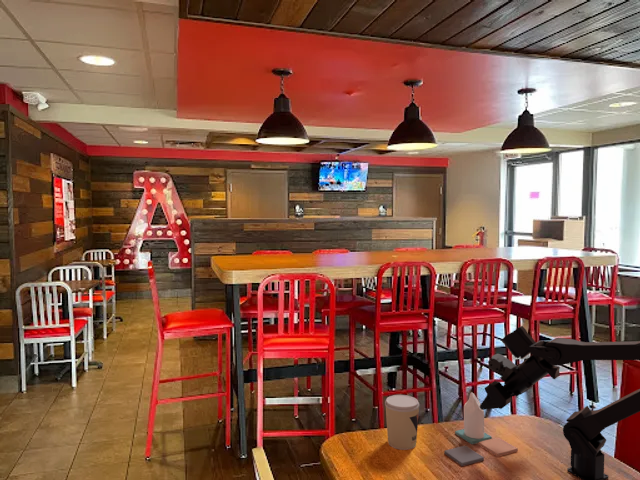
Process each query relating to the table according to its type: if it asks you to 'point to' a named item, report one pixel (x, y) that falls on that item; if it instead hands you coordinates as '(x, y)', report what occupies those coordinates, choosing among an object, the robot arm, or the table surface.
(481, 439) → the teal tile
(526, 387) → the robot arm
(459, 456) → the charcoal tile
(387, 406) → the coffee cup
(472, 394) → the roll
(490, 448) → the terracotta tile
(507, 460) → the table surface
